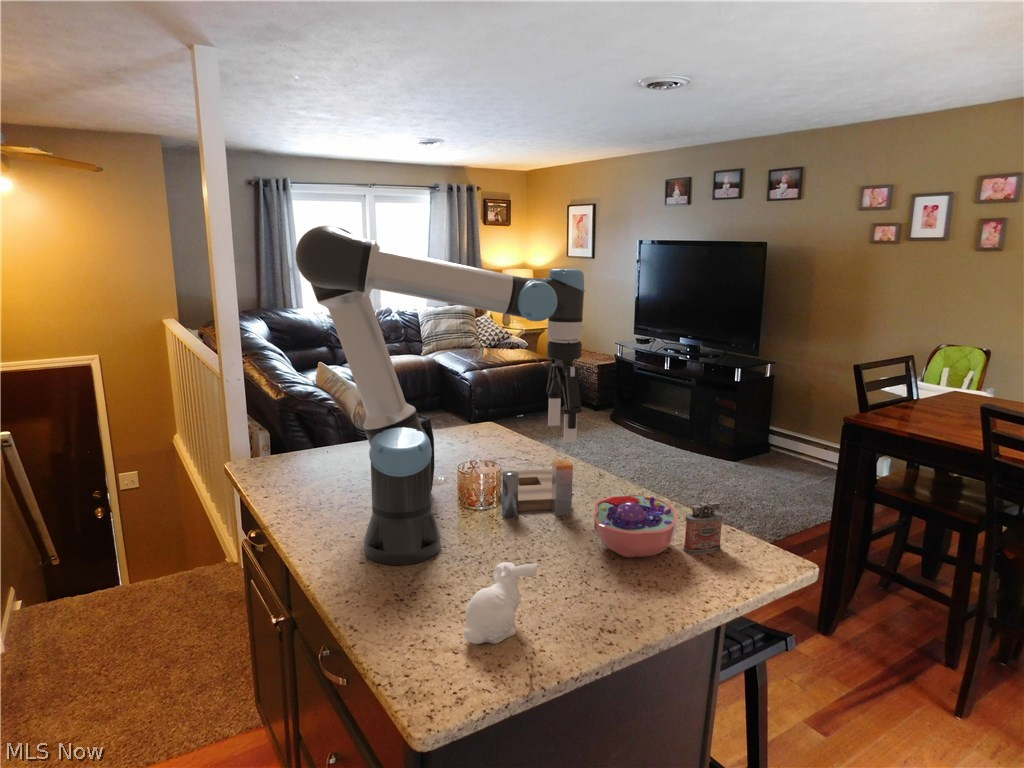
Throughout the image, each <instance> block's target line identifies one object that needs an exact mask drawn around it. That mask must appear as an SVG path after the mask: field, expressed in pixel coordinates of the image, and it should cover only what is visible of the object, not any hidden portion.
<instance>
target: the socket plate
mask: <svg viewBox="0 0 1024 768" xmlns="http://www.w3.org/2000/svg"><path fill="white" fill-rule="evenodd" d="M500 471H501V488H500V499H499V502H500V501H501V502H500V504H501V506H502V480H503V472H505V471H506V470H504V471H503V470H500ZM515 471H516V472H518V473H519V479H518V512H521V511H537V510H539V511H541V510H551V498H552V469H551V468H549V469H548V468H545V469H544V468H543V469H526V470H523V469H522V470H515Z"/></svg>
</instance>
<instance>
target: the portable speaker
mask: <svg viewBox="0 0 1024 768" xmlns="http://www.w3.org/2000/svg"><path fill="white" fill-rule="evenodd" d="M417 415H418V418H419V420H420V423H421V426H422V428H423V429H424V431H425V433H426V435H427V436H428V438H429V440H430V445H431V448H432V457H431V492H432V490H433V487H434V486H433V484H434V478H435V477H434V474H435V465H436V464H435V437H434V433H433V428H432V427H433V426H432V422H431V417H430V416H426V415H422V414H421V413H417Z"/></svg>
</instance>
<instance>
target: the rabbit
mask: <svg viewBox="0 0 1024 768" xmlns="http://www.w3.org/2000/svg"><path fill="white" fill-rule="evenodd" d="M537 573H538V563H537V562H536V563H535V562H534V563H527V564H521V565H517V566H516V564H515V563H513V562H509V561H508V562H507V561H506V562H505V561H503V562H500V563H498V564H497V565H496V566H495V568H494V571H493V573H492V579H493V580H494V583H493V584H492V585H491V586H489V587H484V588H480V589H479V590H478V591H476V592H475V593H474V595H473V596H472V597H471V599H470V600H469V601H468V603H467V605H466V607H465V612H464V614H465V617H464V619H465V627H466V628H465V629H464V630H463V636H464V640H466V641H467V642H469V643H471V644H476V645H481V644H484V643H490V644H499V643H500V642H503V641H504V640H505V639H508V638H509V637H513V636H514V635H516V633H517V631H516V629H515V627H514V625H515V621H516V612H515V611H517V609H518V608H519V606H520V603H521V593H520V590H519V588H518V584H519V581H520V577H519V576H521V577H529V578H530V577H532V578H533V577H535V576H536V575H537Z"/></svg>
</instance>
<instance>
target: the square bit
mask: <svg viewBox="0 0 1024 768" xmlns="http://www.w3.org/2000/svg"><path fill="white" fill-rule="evenodd" d="M573 470H574V465H573V463H572V461H570V460H569V459H554V460H552V498H551V509H550V510H551V512H552V513H553V515H554V516H555V517H560V516H572V503H573V502H572V500H573V477H574V476H573V474H574V471H573Z"/></svg>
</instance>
